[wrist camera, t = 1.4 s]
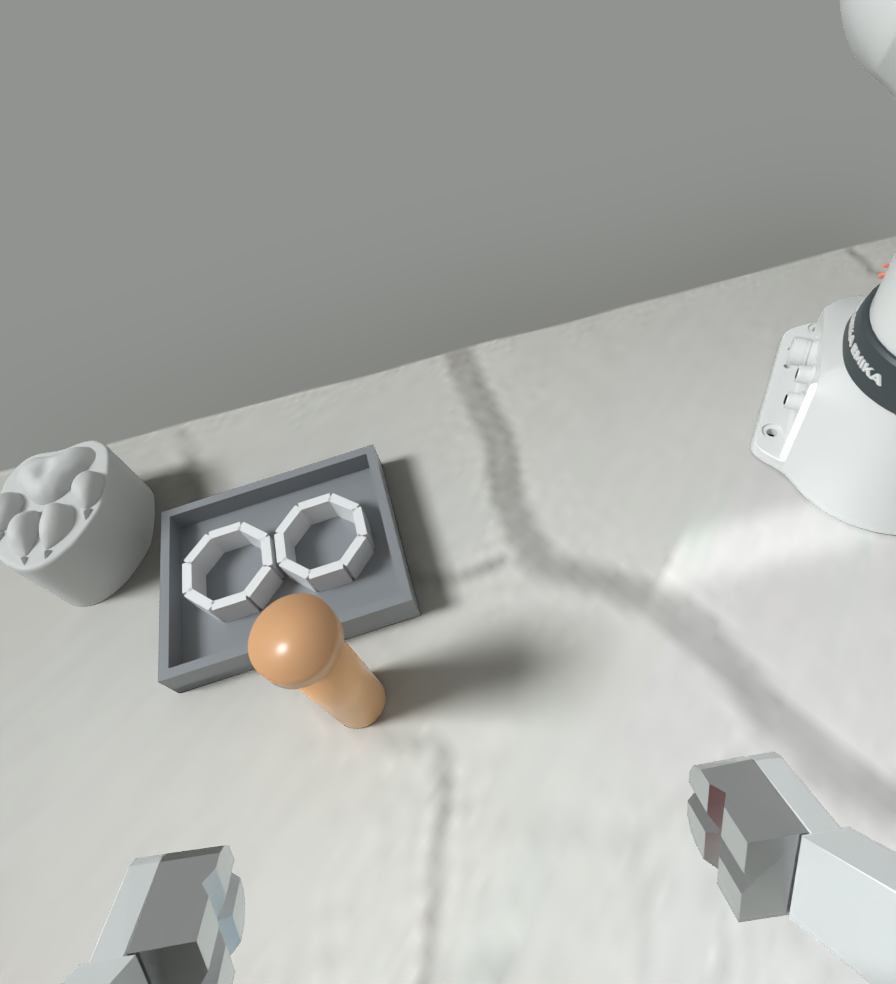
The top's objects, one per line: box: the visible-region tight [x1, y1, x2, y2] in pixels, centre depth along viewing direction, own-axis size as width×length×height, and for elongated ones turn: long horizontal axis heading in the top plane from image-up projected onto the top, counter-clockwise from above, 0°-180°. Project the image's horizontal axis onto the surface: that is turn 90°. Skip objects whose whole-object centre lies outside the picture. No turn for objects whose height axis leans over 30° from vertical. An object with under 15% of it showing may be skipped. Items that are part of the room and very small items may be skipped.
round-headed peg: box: [248, 593, 386, 729], centre depth 40 cm, size 5×5×13 cm
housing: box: [158, 445, 420, 693], centre depth 52 cm, size 16×20×4 cm
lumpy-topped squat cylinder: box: [0, 441, 155, 607], centre depth 55 cm, size 10×13×9 cm
